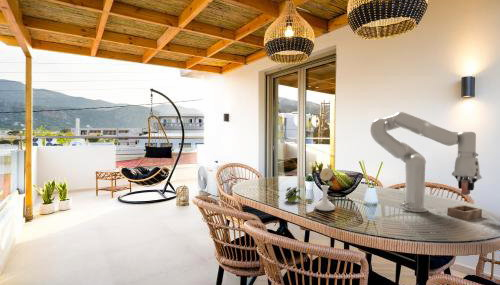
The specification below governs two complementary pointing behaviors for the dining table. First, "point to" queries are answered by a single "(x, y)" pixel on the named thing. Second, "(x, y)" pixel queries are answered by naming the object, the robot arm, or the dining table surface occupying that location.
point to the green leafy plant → (292, 194)
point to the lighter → (465, 186)
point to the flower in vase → (325, 191)
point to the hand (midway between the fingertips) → (465, 189)
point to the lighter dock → (464, 212)
